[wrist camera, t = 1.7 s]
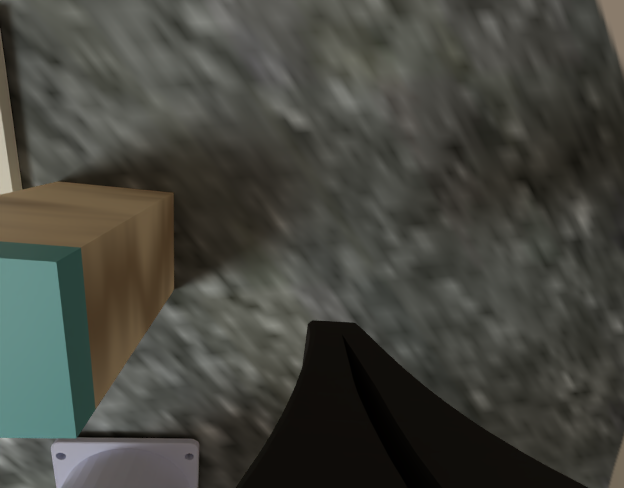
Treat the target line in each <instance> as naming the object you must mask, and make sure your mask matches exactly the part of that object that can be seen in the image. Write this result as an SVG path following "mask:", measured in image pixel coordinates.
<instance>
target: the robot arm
mask: <svg viewBox="0 0 624 488" xmlns="http://www.w3.org/2000/svg"><path fill="white" fill-rule="evenodd" d="M51 453H52V460H53V467H54V474H55V480H56V487H57V488H198V481H199V442H198V441H197V440H195V439H181V438H89V437H77V438H58V439H56V440H55V441H54V443H53V444H52V446H51ZM189 453H190V454H189ZM236 488H588V487H586V486H584V485H582V484H580V483H578V482H576V481H574V480H572V479H571V478H569V477H567V476H565V475H563V474H561V473H559V472H557V471H555V470H553V469H551V468H550V467H548V466H546V465H544V464H542V463H541V462H539V461H537V460H535V459H533V458H532V457H530V456H528V455H526V454H524V453H523V452H521V451H519V450H518V449H516V448H514V447H513V446H511V445H509V444H508V443H506V442H505V441H503V440H501V439H500V438H498V437H496V436H495V435H493V434H491V433H490V432H488V431H487V430H485V429H484V428H482V427H480V426H479V425H477V424H476V423H474V422H473V421H471V420H470V419H468V418H467V417H466V416H464V415H463V414H461V413H460V412H459V411H457V410H456V409H454V408H453V407H451V406H450V405H449V404H447V403H446V402H444V401H443V400H442V399H441V398H439V397H438V396H437V395H435V394H434V393H433V392H431V391H430V390H429V389H428V388H427V387H425V386H424V385H423V384H422V383H420V382H419V381H418V380H417V379H416V378H414V377H413V376H412V375H411V374H410V373H409V372H407V371H406V370H405V369H404V368H403V367H402V366H401V365H399V364H398V363H397V362H396V361H395V360H394V359H393V358H392V357H391V356H390V355H389V354H387V353H386V352H385V351H384V350H383V349H382V348H381V347H380V346H379V345H378V344H377V343H376V342H375V341H374V340H373V339H372V338H371V337H370V336H369V335H368V334H367V333H366V332H365V331H364V330H362V329H361V328H360V327H359V326H358V325H357V324H356V323H349V322H331V321H311V322H310V323H309V324H308V328H307V336H306V343H305V351H304V359H303V366H302V370H301V373H300V375H299V378H298V381H297V383H296V386H295V388H294V391H293V393H292V395H291V397H290V400H289V402H288V404H287V406H286V408H285V410H284V412H283V414H282V416H281V418H280V419H279V421H278V423H277V425H276V426H275V428H274V430H273V432H272V434H271V435H270V437H269V439H268V440H267V442H266V444H265V445H264V447H263V448H262V450H261V452H260V453H259V455H258V456H257V458H256V459H255V460H254V462H253V463H252V465H251V466H250V468H249V469H248V471H247V472H246V474H245V475H244V476H243V478H242V479H241V481H240V482H239V484H238V485H237V487H236Z"/></svg>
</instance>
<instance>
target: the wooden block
mask: <svg viewBox="0 0 624 488" xmlns="http://www.w3.org/2000/svg"><path fill="white" fill-rule="evenodd" d="M173 290H174V193H172V192H161V191H151V190H141V189H131V188H120V187H110V186H100V185H90V184H79V183H69V182H59V181H58V182H54V183H49V184H45V185H40V186H36V187H32V188H27V189H23V190H19V191H14V192H10V193H6V194H1V195H0V438H77V437H78V435H79V434H80V432H81V431H82V429H83V428H84V426H85V425H86V423H87V422H88V420H89V419H90V417H91V416H92V414H93V412H94V411H95V409H96V408H97V406H98V405H99V403H100V402H101V400H102V399H103V397H104V396H105V394H106V393H107V391H108V390H109V388H110V387H111V385H112V383H113V382H114V380H115V379H116V377H117V376H118V374H119V373H120V371H121V370H122V368H123V367H124V365H125V364H126V362H127V361H128V359H129V358H130V356H131V354H132V353H133V351H134V350H135V348H136V347H137V345H138V344H139V342H140V341H141V339H142V338H143V336H144V335H145V333H146V332H147V330H148V329H149V327H150V325H151V324H152V322H153V321H154V319H155V318H156V316H157V315H158V313H159V312H160V310H161V309H162V307H163V306H164V304H165V303H166V301H167V300H168V298H169V296H170V295H171V293H172V292H173Z"/></svg>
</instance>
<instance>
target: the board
mask: <svg viewBox="0 0 624 488" xmlns="http://www.w3.org/2000/svg"><path fill="white" fill-rule="evenodd" d="M19 190H22V183H21V175H20V168H19V161H18V153H17V146H16V139H15V132H14V124H13V117H12V110H11V102H10V95H9V88H8V81H7V73H6V66H5V59H4V52H3V44H2V37H1V30H0V195H1V194H6V193H10V192H14V191H19Z"/></svg>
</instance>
